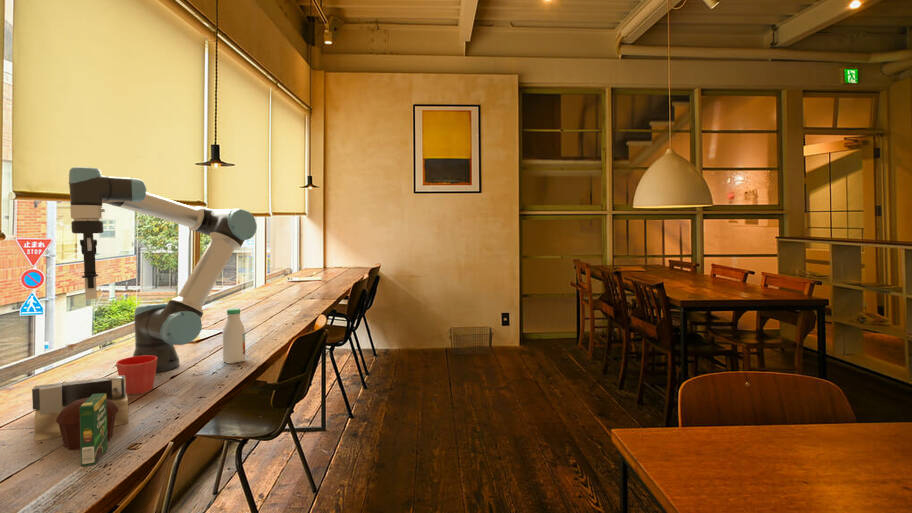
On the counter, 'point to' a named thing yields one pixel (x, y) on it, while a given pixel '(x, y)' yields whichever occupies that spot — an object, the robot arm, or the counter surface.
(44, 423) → the stool seat
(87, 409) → the coffee box
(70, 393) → the folding leg
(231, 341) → the milk bottle
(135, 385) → the flower pot
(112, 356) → the counter surface
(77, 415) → the muffin
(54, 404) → the block
